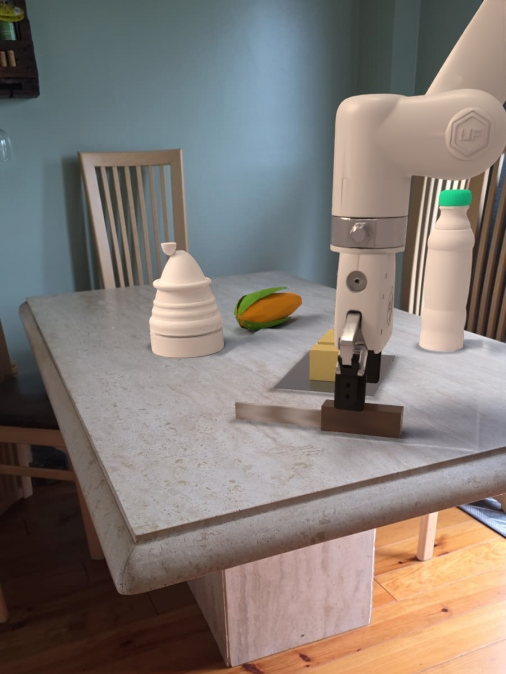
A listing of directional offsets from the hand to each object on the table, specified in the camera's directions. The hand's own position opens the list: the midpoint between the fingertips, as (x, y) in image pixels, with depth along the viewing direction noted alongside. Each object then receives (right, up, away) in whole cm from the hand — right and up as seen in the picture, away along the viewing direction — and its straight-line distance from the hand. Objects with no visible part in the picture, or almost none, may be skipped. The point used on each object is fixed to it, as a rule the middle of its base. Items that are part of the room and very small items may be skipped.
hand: (357, 394), depth 70 cm
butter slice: (0, +4, +19) cm, 20 cm away
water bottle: (+20, +10, +34) cm, 41 cm away
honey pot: (-23, +12, +41) cm, 49 cm away
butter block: (+2, +7, +25) cm, 26 cm away
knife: (-4, -4, +4) cm, 7 cm away
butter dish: (+1, +5, +23) cm, 24 cm away
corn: (-8, +19, +55) cm, 59 cm away
